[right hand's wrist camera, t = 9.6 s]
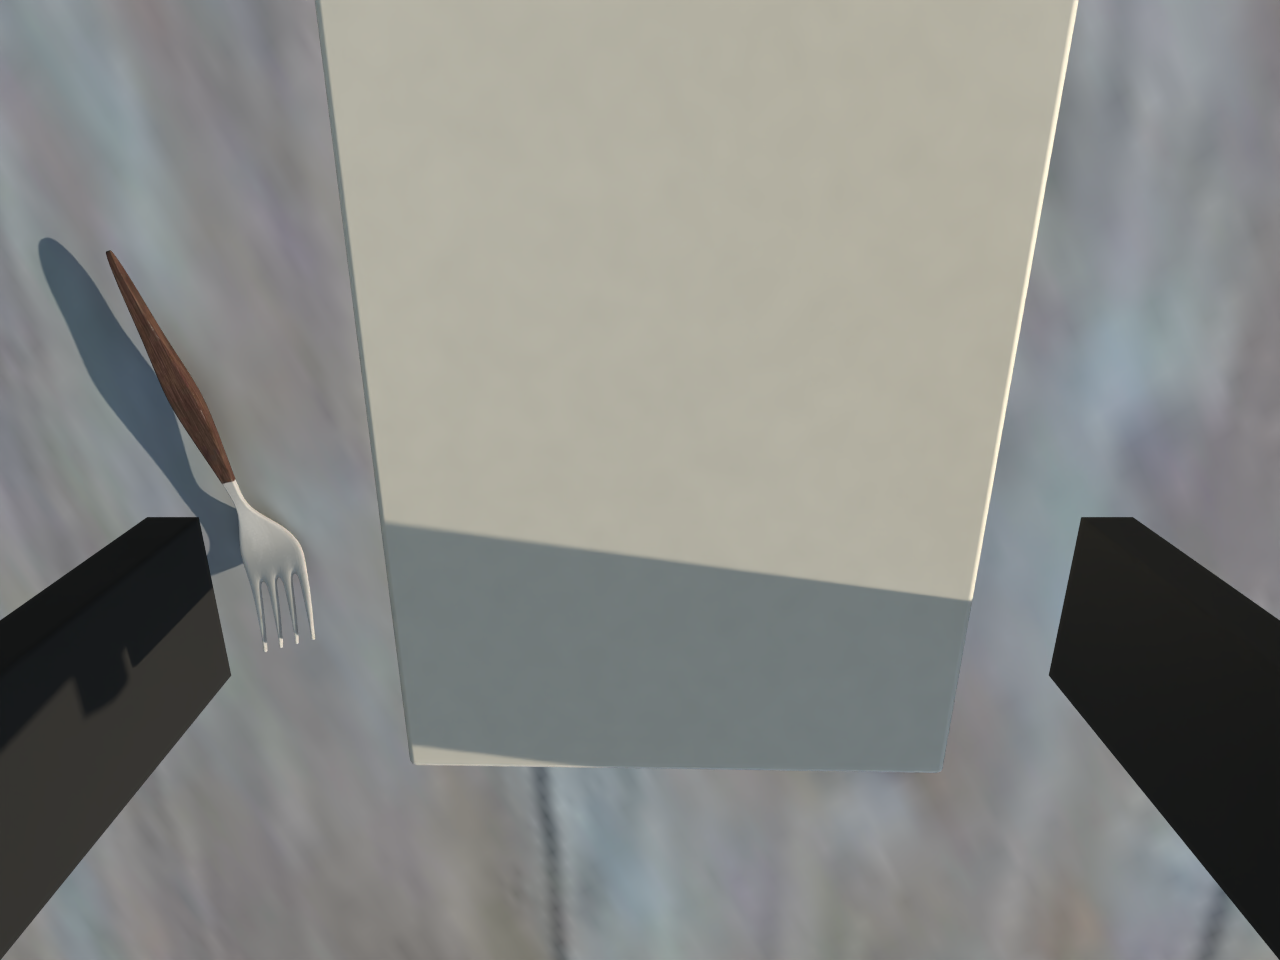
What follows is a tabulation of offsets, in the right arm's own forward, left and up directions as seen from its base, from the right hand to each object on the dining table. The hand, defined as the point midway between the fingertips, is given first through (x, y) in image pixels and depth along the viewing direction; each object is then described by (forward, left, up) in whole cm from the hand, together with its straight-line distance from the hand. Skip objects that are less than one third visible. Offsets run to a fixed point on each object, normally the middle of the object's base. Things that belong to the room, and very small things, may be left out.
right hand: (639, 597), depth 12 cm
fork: (-17, +4, -19) cm, 26 cm away
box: (+6, +10, -8) cm, 14 cm away
